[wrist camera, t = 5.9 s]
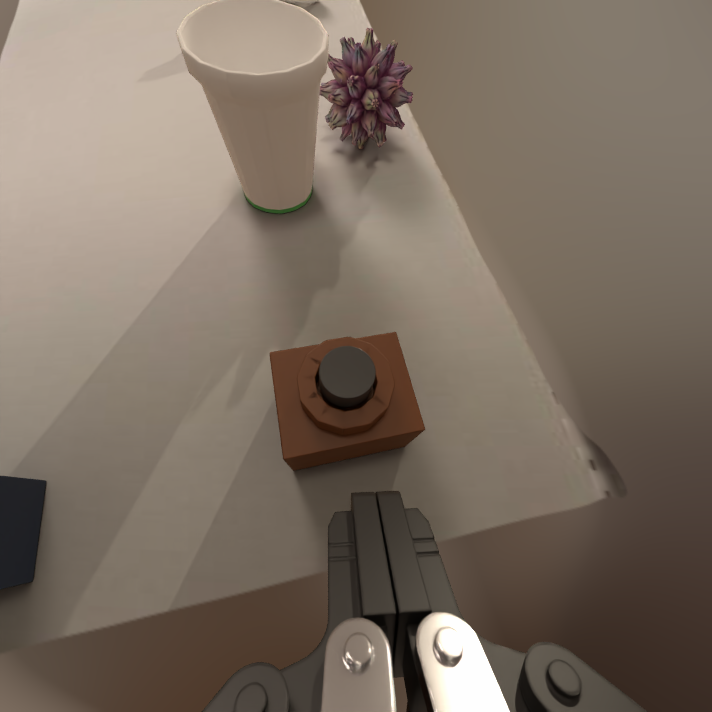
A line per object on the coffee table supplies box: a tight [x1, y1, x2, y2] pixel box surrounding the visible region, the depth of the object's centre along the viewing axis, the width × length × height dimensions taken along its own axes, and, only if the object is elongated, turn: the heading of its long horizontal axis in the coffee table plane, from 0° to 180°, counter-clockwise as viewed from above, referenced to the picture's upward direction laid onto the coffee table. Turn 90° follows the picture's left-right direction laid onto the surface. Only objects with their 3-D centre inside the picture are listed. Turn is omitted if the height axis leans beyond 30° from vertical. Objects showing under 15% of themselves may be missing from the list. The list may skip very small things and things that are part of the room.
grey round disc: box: [319, 346, 376, 407], centre depth 23 cm, size 4×4×2 cm
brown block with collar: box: [270, 332, 425, 471], centre depth 27 cm, size 10×8×9 cm
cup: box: [176, 0, 329, 214], centre depth 35 cm, size 12×12×15 cm
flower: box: [319, 28, 413, 149], centre depth 42 cm, size 12×12×12 cm
